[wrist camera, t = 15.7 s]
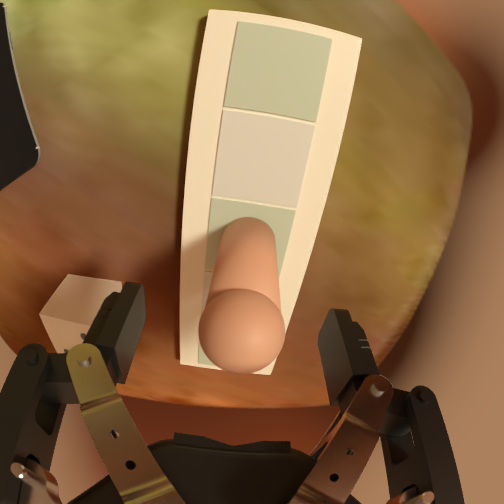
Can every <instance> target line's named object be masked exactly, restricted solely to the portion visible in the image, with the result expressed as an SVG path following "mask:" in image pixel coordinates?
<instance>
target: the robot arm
mask: <svg viewBox="0 0 504 504" xmlns="http://www.w3.org/2000/svg"><path fill="white" fill-rule="evenodd" d="M145 319H146V303H145V291H144V285H143V284H138V283H132V282H126V283H125V284H124V286H123V288H122V290H121V292H120V293H119V292H112V293H111V294H110V295H109V296H107V297H106V298H105V299H104V301H103V303H102V305H101V307H100V309H99V311H98V313H97V316H96V317H95V318H94V320H93V322H92V324H91V326H90V328H89V330H88V332H87V334H86V336H85V339H84V341H83V342H82V344H78V345H76V346H74V347H73V348H71V349H70V350H69V352H68V353H47V352H46V350H45V348H44V347H43V346H41V345H39V344H29V345H26V346H25V347H23V348H22V349H21V350H20V351H19V353H18V355H17V357H16V359H15V361H14V363H13V365H12V367H11V370H10V372H9V374H8V376H7V378H6V381H5V383H4V385H3V388H2V390H1V393H0V504H62V502H61V500H60V498H59V487H58V483H57V480H56V478H55V477H54V476H53V475H52V474H51V473H50V472H49V471H50V466H51V461H52V457H53V453H54V449H55V444H56V441H57V437H58V433H59V429H60V425H61V422H62V418H63V415H64V411H65V408H66V405H67V404H80V405H81V407H80V409H81V413H82V416H83V418H84V421H85V423H86V426H87V428H88V431H89V433H90V435H91V438H92V440H93V442H94V444H95V447H96V449H97V451H98V453H99V455H100V457H101V459H102V462H103V463H104V466H105V467H106V470H107V471H108V473H109V475H107V476H106V477H105V478H103V479H102V480H100V481H99V482H98V483H96V484H95V485H93V486H92V487H90V488H89V489H87V490H86V491H85V492H83V493H82V494H80V495H79V496H77V497H76V498H75V499H73V500H71V501H70V502H69V503H68V504H361V503H360V502H359V501H358V500H357V499H355V498H354V497H353V496H352V495H351V494H350V493H351V491H352V490H353V488H354V486H355V484H356V483H357V481H358V479H359V477H360V475H361V474H362V472H363V470H364V468H365V466H366V464H367V462H368V460H369V458H370V456H371V454H372V452H373V450H374V448H375V446H376V444H377V442H378V440H379V437H380V438H381V443H382V449H383V454H384V460H385V466H386V473H387V479H388V486H389V494H390V500H388V502H387V503H386V504H464V498H463V494H462V488H461V484H460V479H459V475H458V471H457V466H456V463H455V459H454V455H453V451H452V447H451V444H450V440H449V437H448V433H447V430H446V427H445V423H444V420H443V417H442V414H441V411H440V408H439V405H438V402H437V399H436V396H435V394H434V393H433V392H432V391H431V390H430V389H429V388H427V387H425V386H416V387H414V388H413V389H412V390H411V391H410V392H407V391H403V390H399V389H395V388H393V386H392V384H391V383H390V381H389V380H388V379H387V378H385V377H383V376H381V375H380V374H379V371H378V368H377V366H376V363H375V360H374V357H373V354H372V351H371V349H370V346H369V343H368V341H367V338H366V335H365V332H364V330H363V329H362V328H361V326H360V325H359V324H358V323H357V322H352V319H351V316H350V314H349V311H348V310H344V309H330V310H329V312H328V314H327V316H326V319H325V321H324V323H323V326H322V328H321V330H320V332H319V336H318V347H319V351H320V356H321V361H322V366H323V371H324V376H325V380H326V385H327V391H328V396H329V401H330V406H336V405H339V406H340V412H339V413H338V414H337V416H336V418H335V419H334V421H333V422H332V424H331V425H330V427H329V429H328V430H327V432H326V433H325V435H324V436H323V438H322V439H321V441H320V442H319V444H318V445H317V446H316V448H315V449H314V450H313V451H312V452H311V454H310V455H307V454H305V453H303V452H301V451H299V450H296V449H293V448H291V446H290V441H260V442H255V443H249V444H243V445H237V446H231V445H228V444H225V443H221V442H218V441H215V440H212V439H209V438H206V437H203V436H196V435H189V434H182V433H174V439H166V440H161V441H158V442H154V443H152V444H150V445H148V446H147V445H146V444H145V442H144V440H143V438H142V437H141V435H140V433H139V431H138V429H137V428H136V426H135V424H134V422H133V420H132V418H131V416H130V414H129V413H128V411H127V409H126V407H125V405H124V403H123V401H122V399H121V397H120V395H119V394H118V392H117V390H116V388H115V387H116V384H117V383H121V384H125V382H126V379H127V375H128V372H129V369H130V366H131V363H132V360H133V357H134V353H135V350H136V347H137V344H138V342H139V339H140V336H141V333H142V330H143V327H144V324H145ZM411 433H412V435H411ZM412 437H413V439H412ZM413 441H414V443H413Z"/></svg>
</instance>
